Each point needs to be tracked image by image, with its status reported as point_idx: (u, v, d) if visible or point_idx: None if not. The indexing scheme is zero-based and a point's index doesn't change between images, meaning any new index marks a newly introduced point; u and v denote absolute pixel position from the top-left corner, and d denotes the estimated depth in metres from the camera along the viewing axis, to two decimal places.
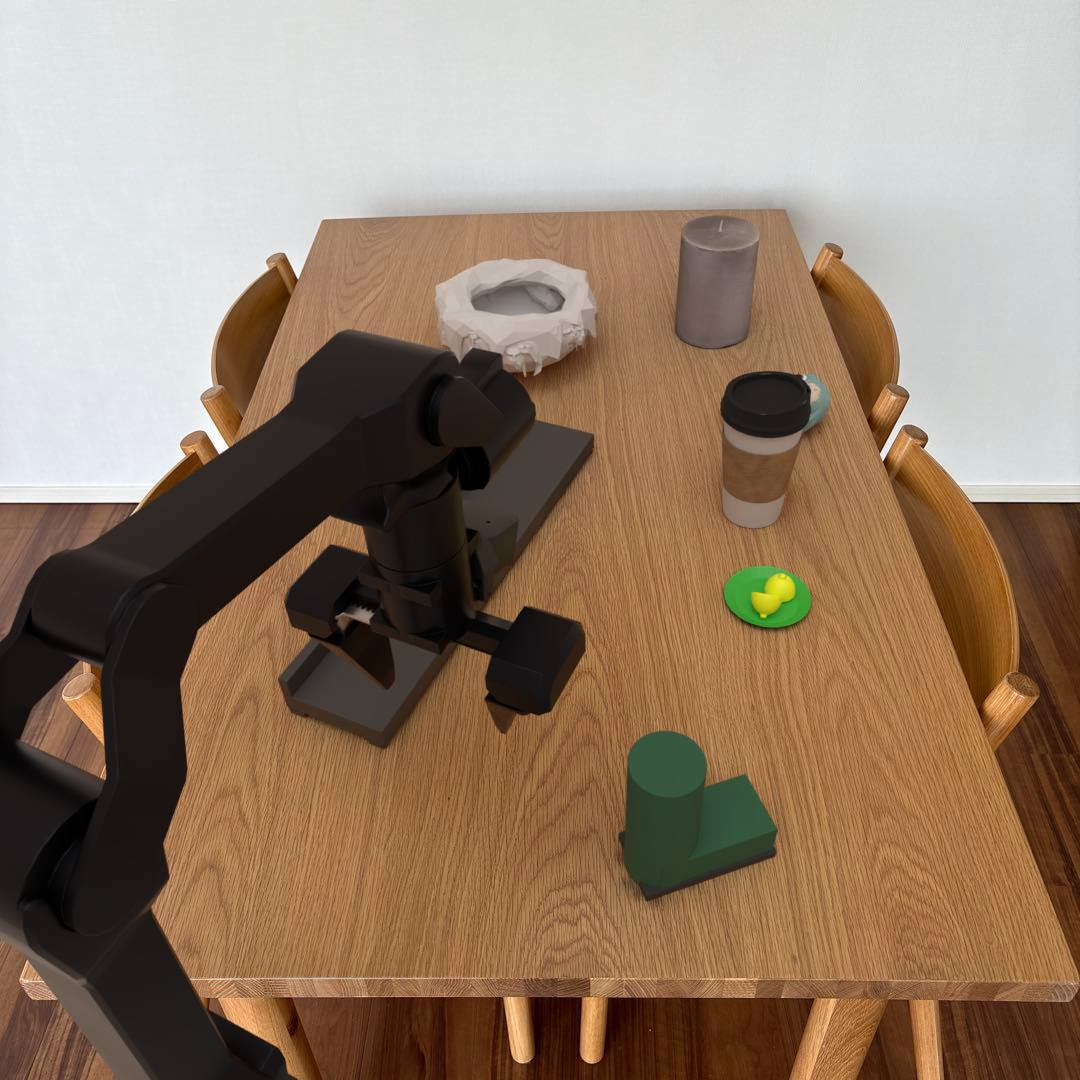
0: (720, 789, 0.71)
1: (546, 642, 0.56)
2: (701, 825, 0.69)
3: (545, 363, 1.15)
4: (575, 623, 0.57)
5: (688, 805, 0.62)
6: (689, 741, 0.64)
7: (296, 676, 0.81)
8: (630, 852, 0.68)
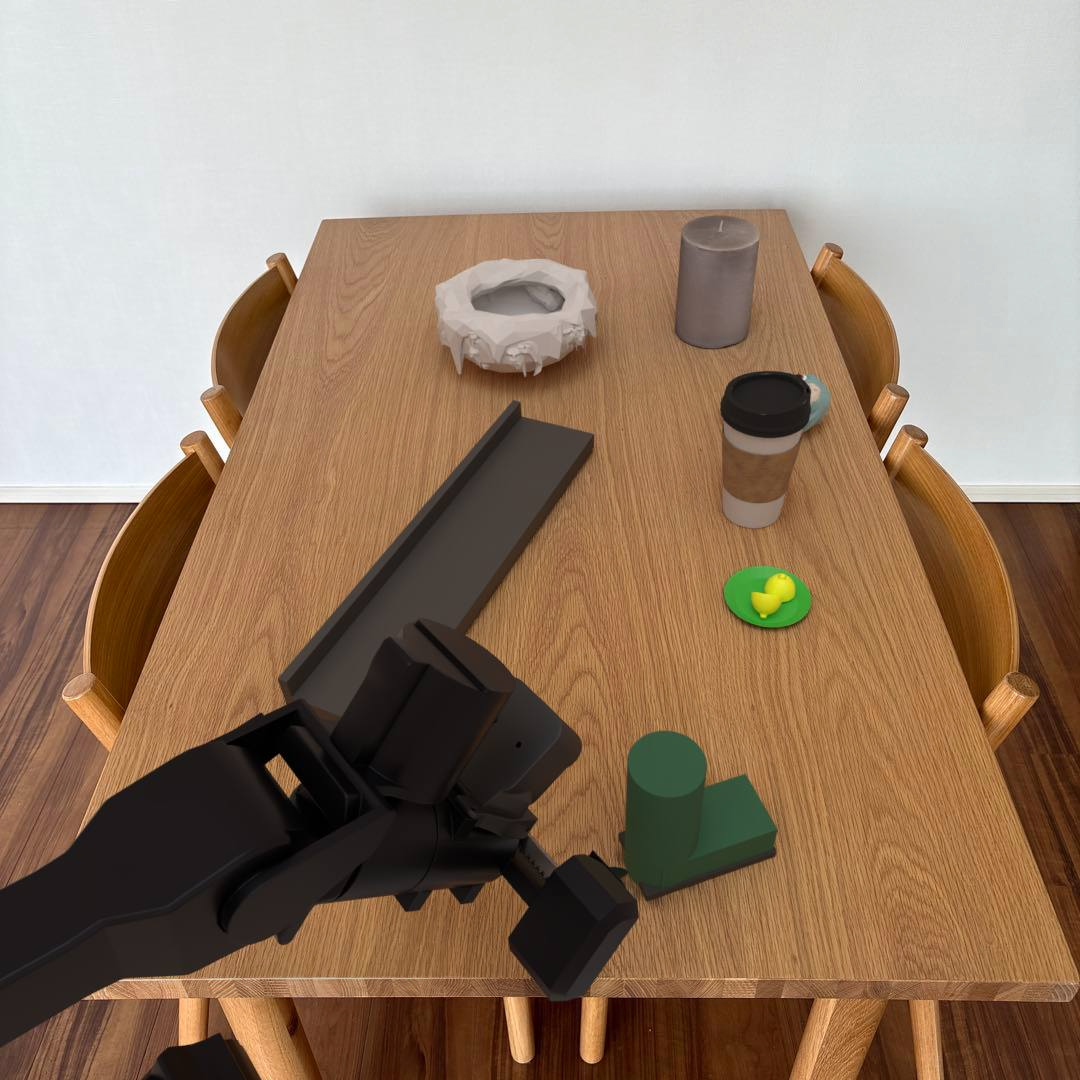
0: (720, 789, 0.71)
1: (563, 941, 0.46)
2: (701, 825, 0.69)
3: (545, 363, 1.15)
4: (601, 920, 0.45)
5: (688, 805, 0.62)
6: (689, 741, 0.64)
7: (296, 676, 0.81)
8: (630, 852, 0.68)
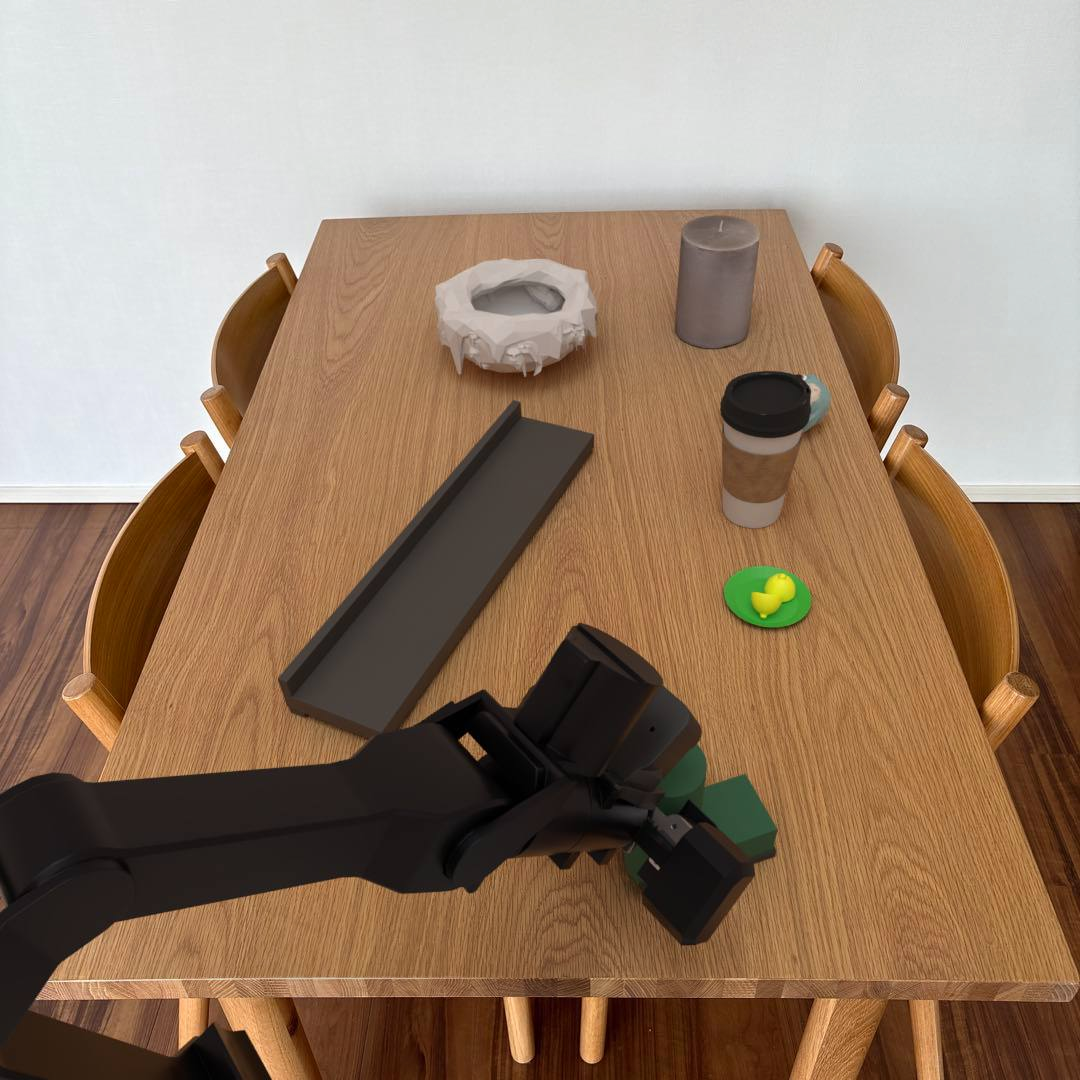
0: (720, 788, 0.71)
1: (693, 894, 0.55)
2: None
3: (545, 363, 1.15)
4: (727, 876, 0.54)
5: None
6: None
7: (296, 676, 0.81)
8: None
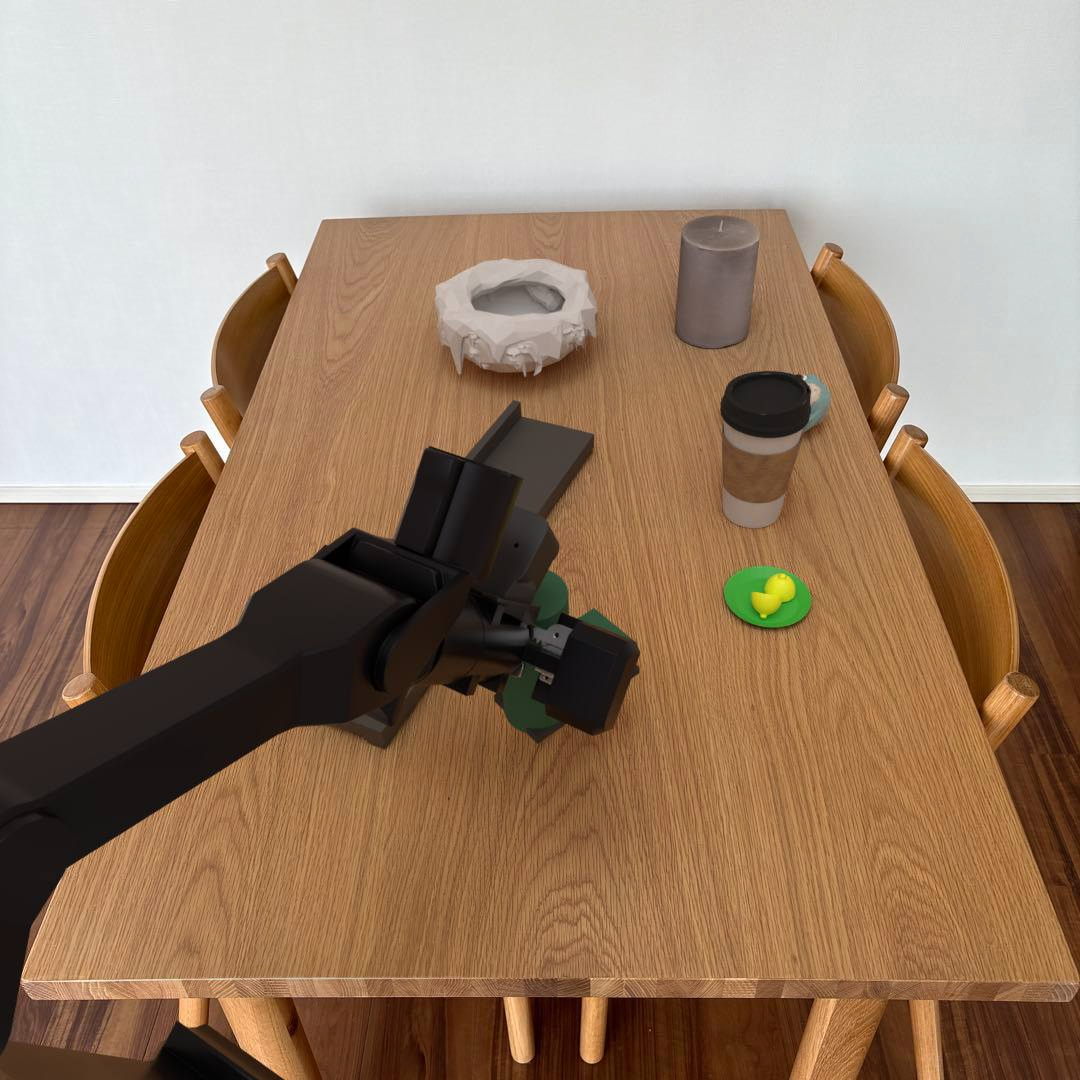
0: None
1: (592, 682, 0.58)
2: None
3: (545, 363, 1.15)
4: (618, 654, 0.57)
5: None
6: None
7: None
8: (512, 701, 0.70)
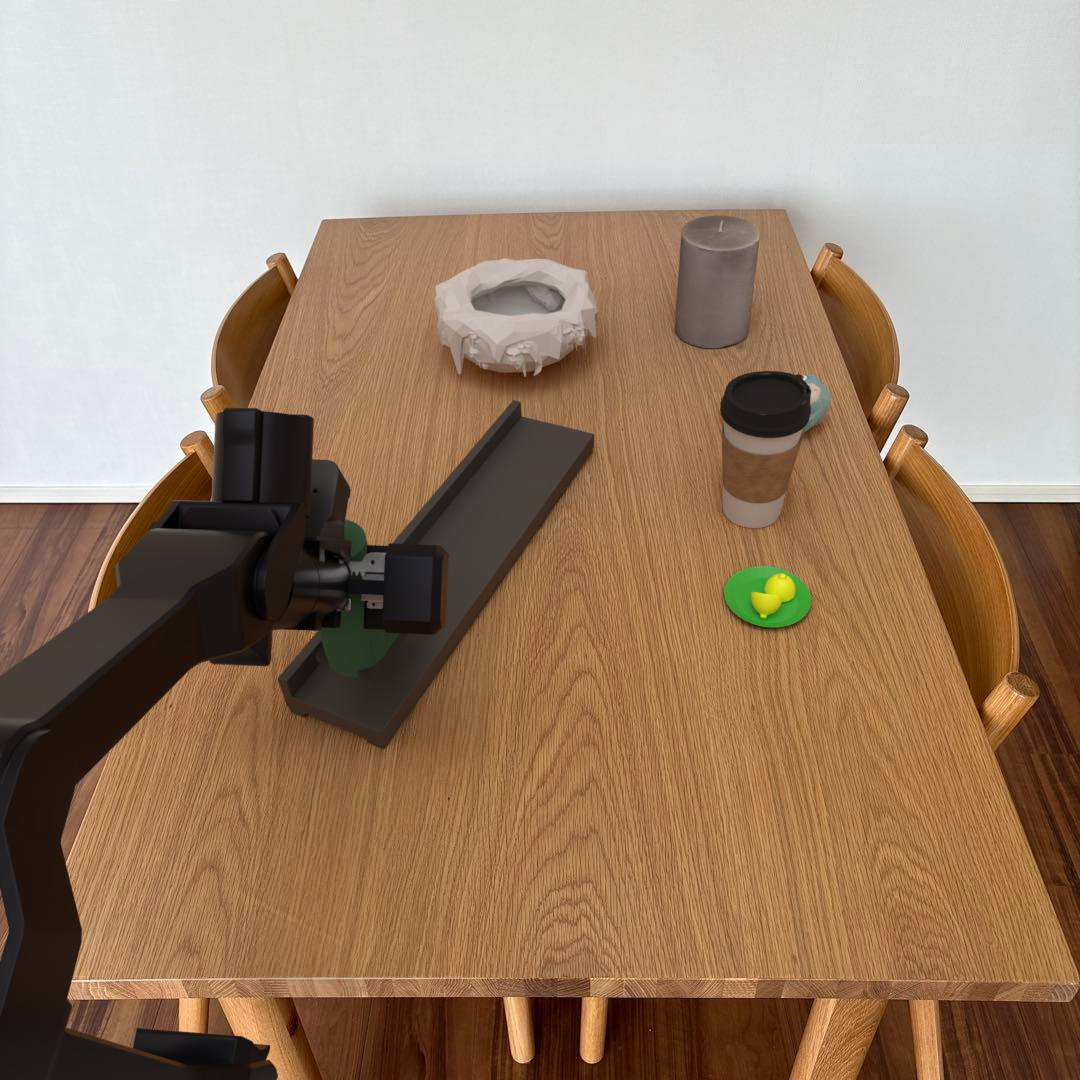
0: None
1: (419, 588, 0.65)
2: None
3: (545, 363, 1.15)
4: (434, 557, 0.65)
5: None
6: None
7: (296, 676, 0.81)
8: (338, 649, 0.75)
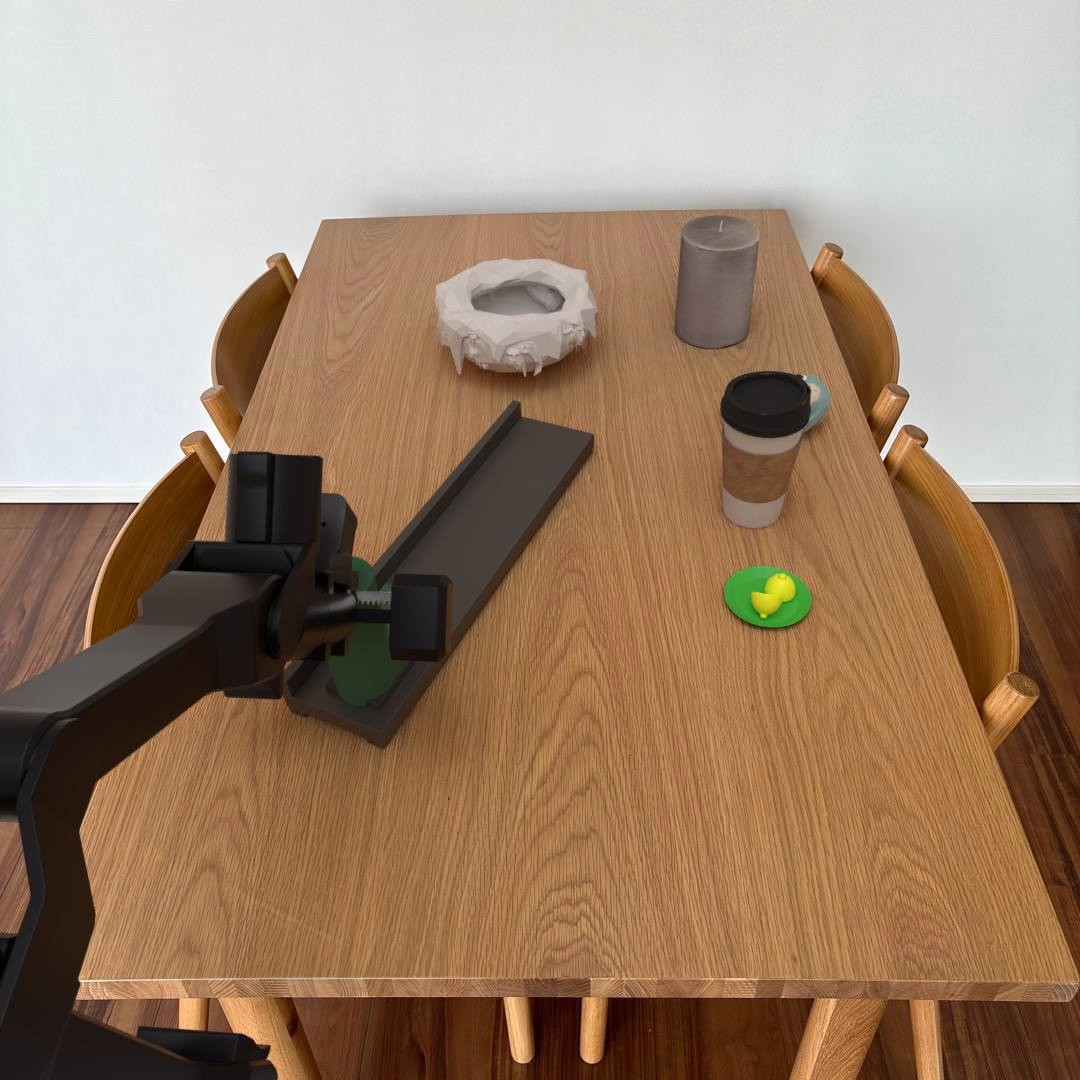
0: None
1: (425, 617, 0.67)
2: None
3: (545, 363, 1.15)
4: (439, 587, 0.67)
5: None
6: None
7: (296, 676, 0.81)
8: (347, 680, 0.78)
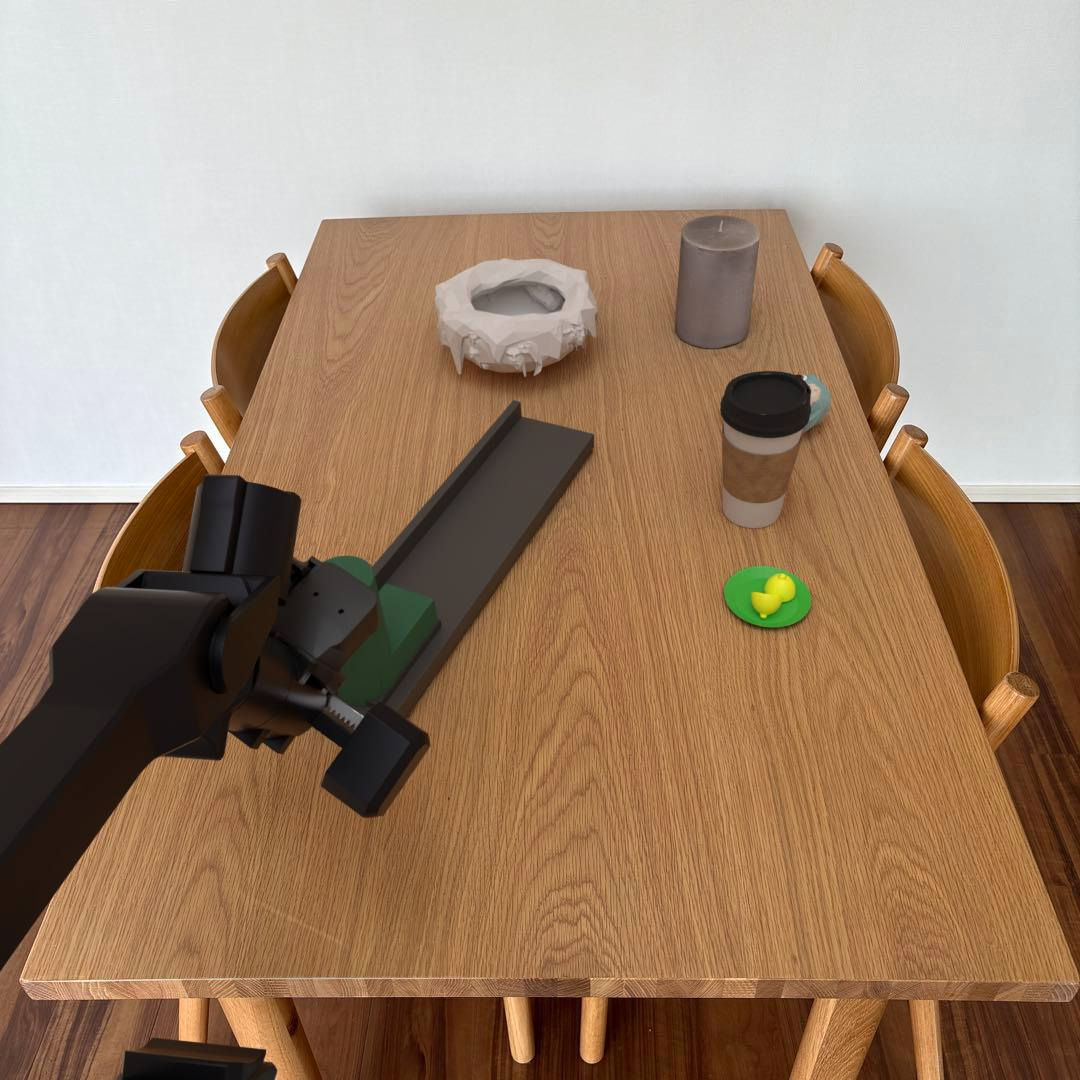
0: None
1: (379, 764, 0.57)
2: None
3: (545, 363, 1.15)
4: (412, 742, 0.58)
5: None
6: (344, 557, 0.75)
7: None
8: (347, 680, 0.78)
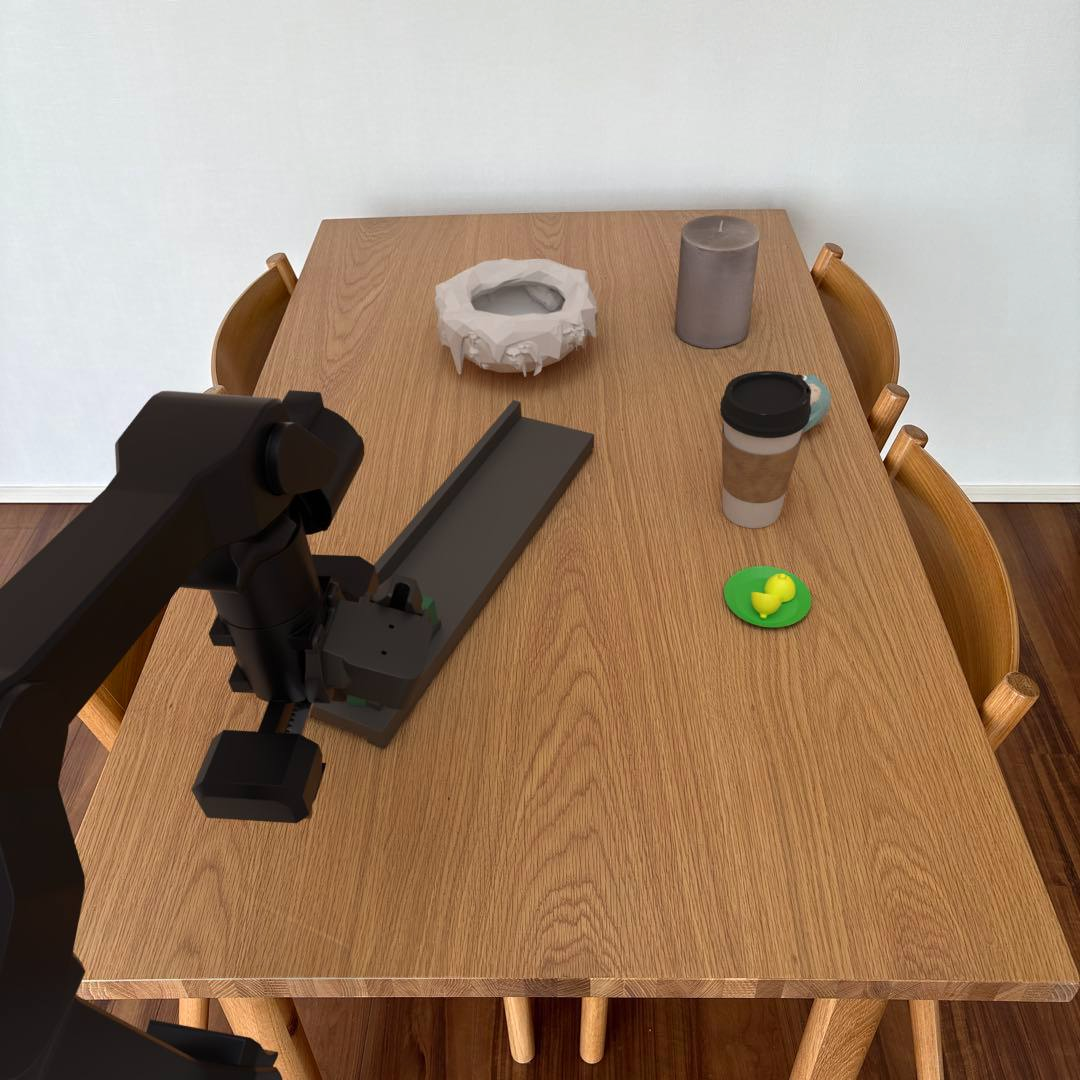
0: None
1: (248, 770, 0.51)
2: None
3: (545, 363, 1.15)
4: (283, 788, 0.50)
5: None
6: None
7: None
8: None
